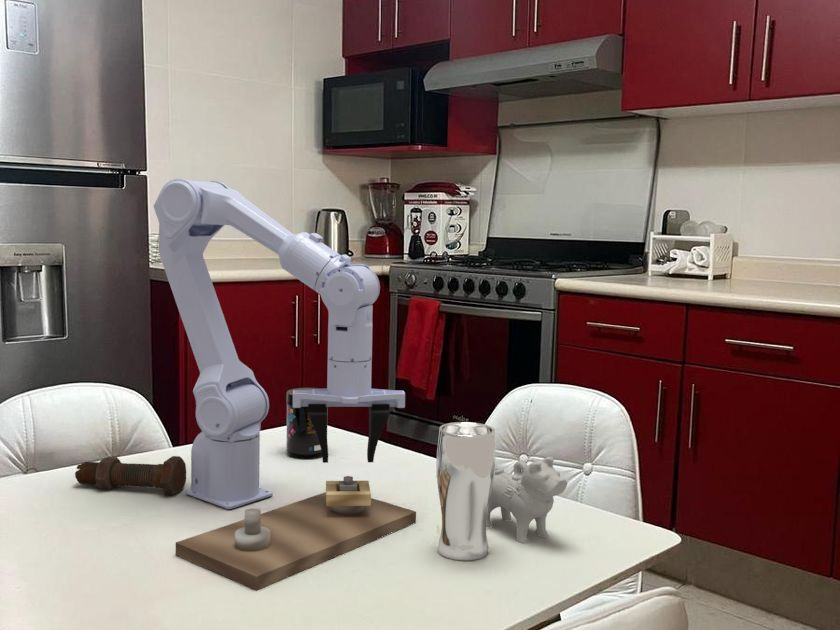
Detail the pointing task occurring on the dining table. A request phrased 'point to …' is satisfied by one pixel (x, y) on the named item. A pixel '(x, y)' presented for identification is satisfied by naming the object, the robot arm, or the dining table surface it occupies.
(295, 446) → the supplement container
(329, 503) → the square wooden ring
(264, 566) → the board
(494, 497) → the dog figurine
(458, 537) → the beer glass
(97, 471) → the bolt
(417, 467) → the dining table surface
